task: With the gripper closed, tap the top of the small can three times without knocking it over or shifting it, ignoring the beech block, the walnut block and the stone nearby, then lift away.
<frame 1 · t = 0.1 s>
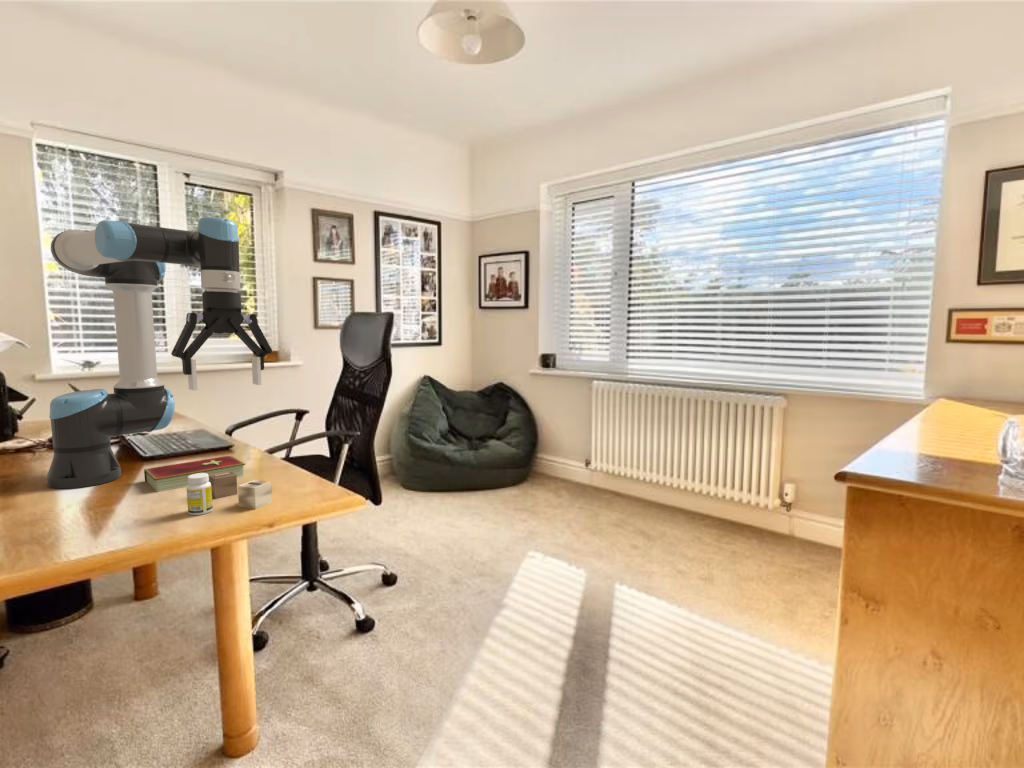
hand: (226, 387, 118), 28 cm above the table, fingers open, 13 cm apart
walnut block: (223, 494, 130), on the table
supplement bottle: (200, 512, 118), on the table
beech block: (255, 504, 123), on the table
hardcover book: (196, 481, 141), on the table
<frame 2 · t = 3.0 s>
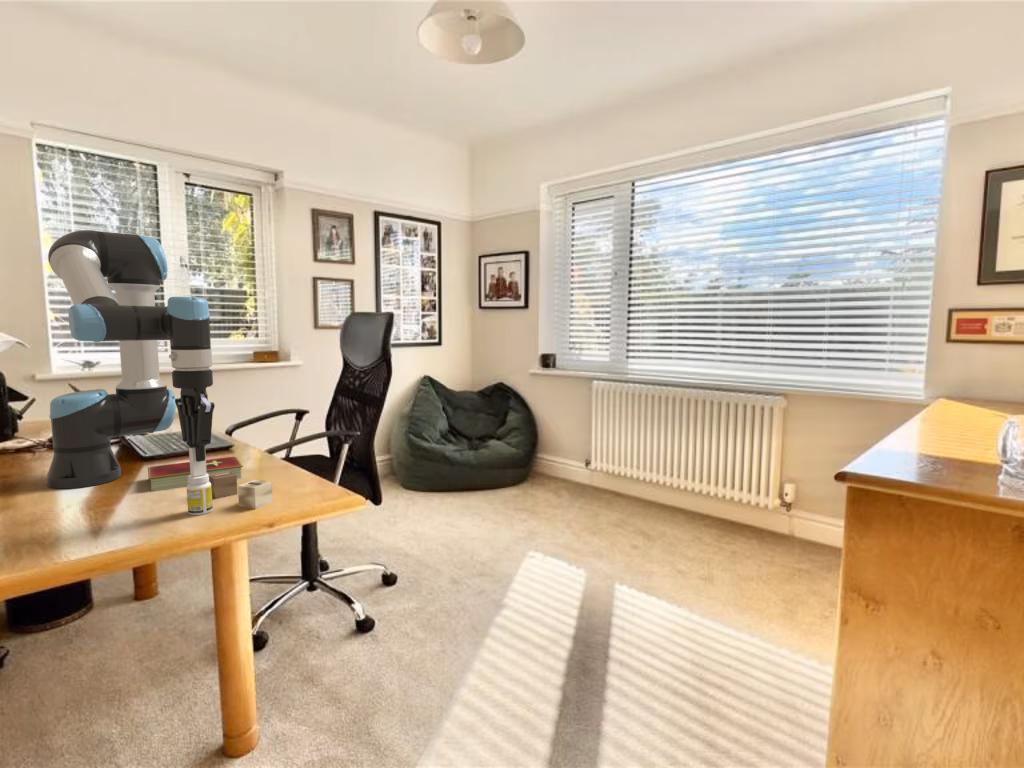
hand: (198, 474, 117), 9 cm above the table, fingers closed
supplement bottle: (200, 512, 118), on the table, touching gripper
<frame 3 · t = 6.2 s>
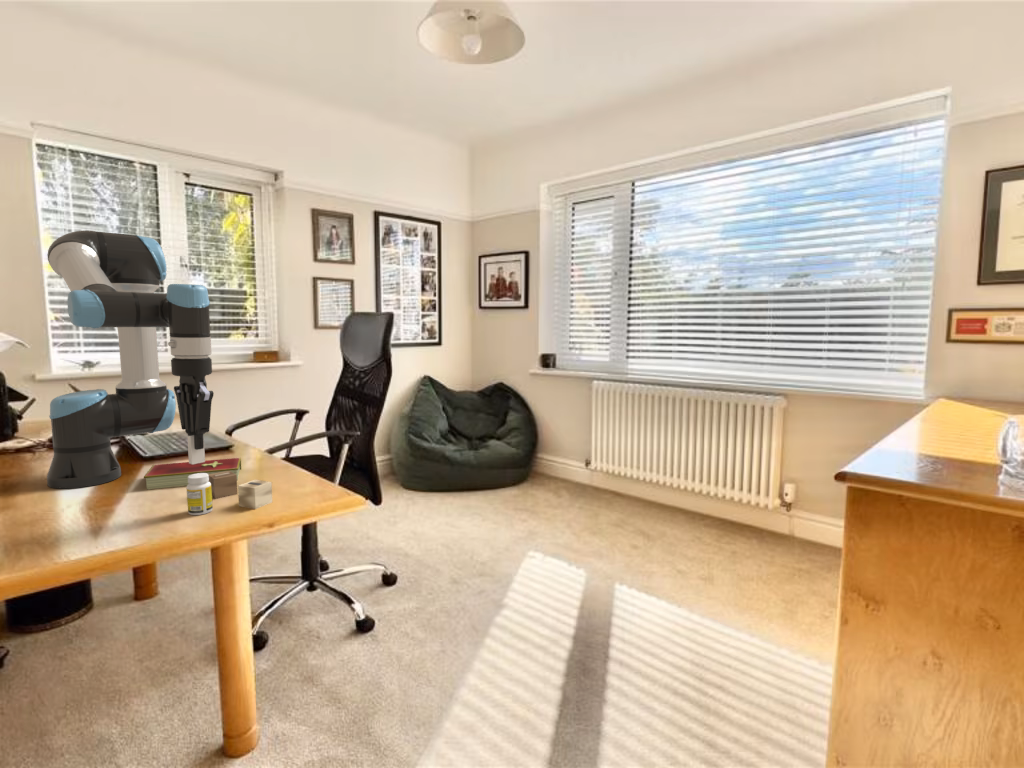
hand: (197, 462, 117), 11 cm above the table, fingers closed
supplement bottle: (200, 512, 118), on the table
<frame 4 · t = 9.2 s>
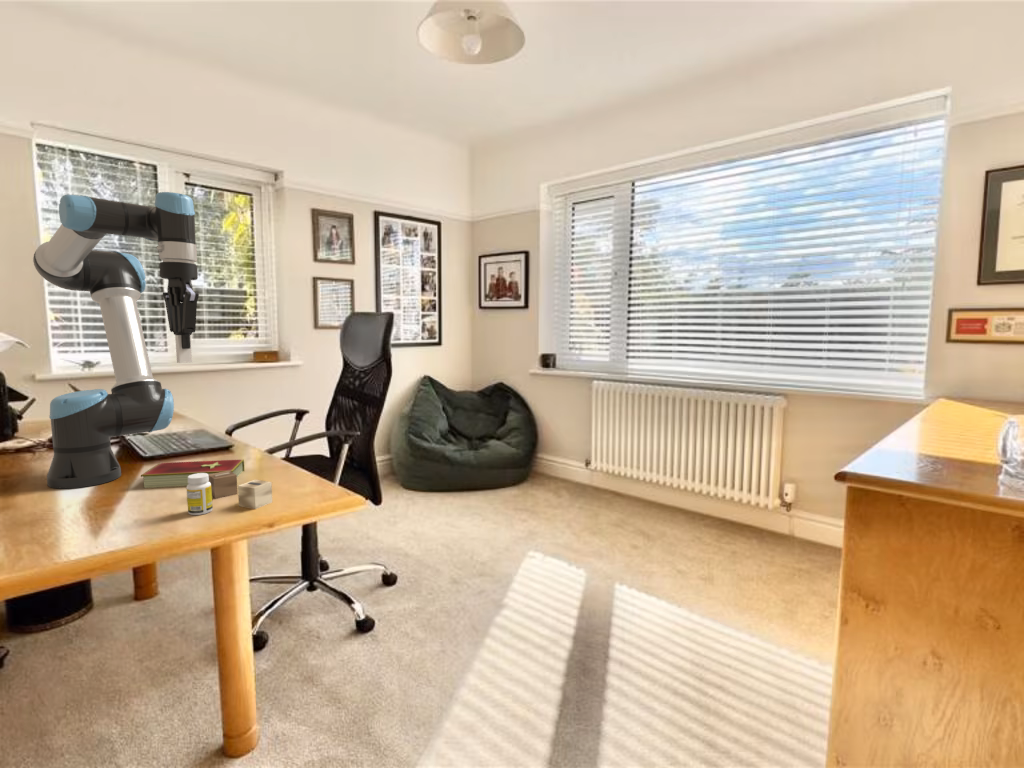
hand: (184, 362, 126), 32 cm above the table, fingers closed
at the end: supplement bottle moved 0.2 cm from its start; supplement bottle tilted 0°; the gripper is holding nothing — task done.
